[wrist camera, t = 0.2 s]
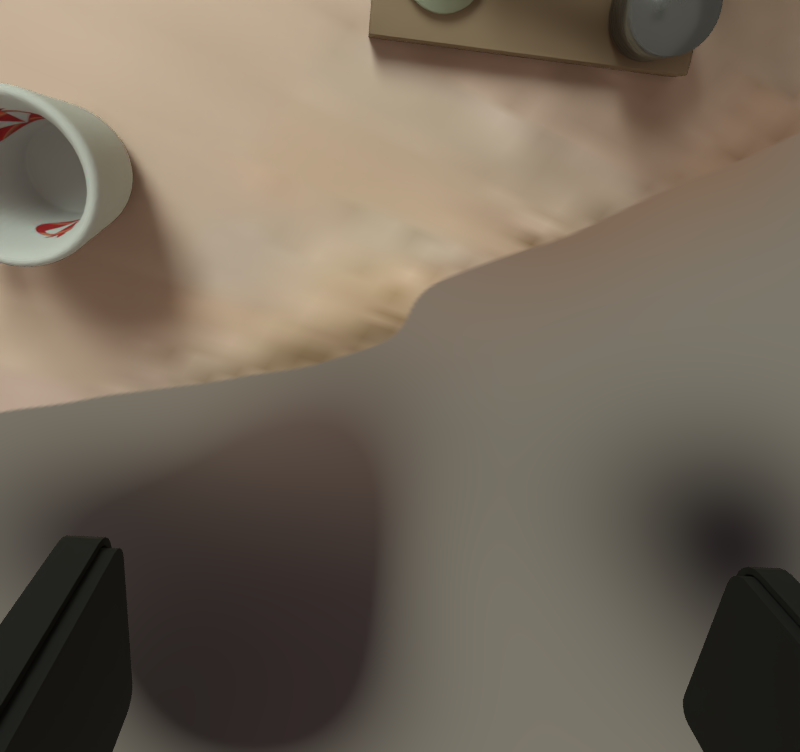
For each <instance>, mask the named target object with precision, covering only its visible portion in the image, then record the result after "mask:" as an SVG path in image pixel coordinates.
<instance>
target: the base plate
mask: <svg viewBox="0 0 800 752" xmlns="http://www.w3.org/2000/svg"><path fill="white" fill-rule="evenodd" d="M611 2H612V0H371V12H370V25H369V37H372V38H380V39H388V40H395V41H403V42H411V43H418V44H426V45H434V46H441V47H449V48H457V49H464V50H472V51H480V52H487V53H495V54H503V55H510V56H518V57H526V58H533V59H541V60H549V61H556V62H564V63H572V64H579V65H587V66H595V67H602V68H610V69H618V70H625V71H633V72H641V73H648V74H656V75H664V76H671V77H676V76H683V75H687V72H688V68H689V64H690V61H691V57H692V53H693V50H691V51H689V52H687V53H685V54H682V55H678V56H673V57H668V58H663V59H658V60H653V61H646V62H641V61H635V60H632V59H630V58H628V57H626V56H625V55H623V54H622V53H621V52H620V51H619V50H618V49H617V47H616V46H615V44H614V42H613V40H612V37H611V34H610V30H609V11H610V6H611Z"/></svg>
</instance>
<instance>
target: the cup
mask: <svg viewBox="0 0 800 752" xmlns="http://www.w3.org/2000/svg"><path fill="white" fill-rule="evenodd" d="M132 182H133V173H132V166H131V162H130V158H129V156H128V153H127V151H126V149H125V146H124V145H123V143H122V141H121V140H120V138H119V137H118V135H117V134H116V133H115V132H114V131H113V129H112V128H111V127H110V126H109V125H108V124H106V123H105V122H104V121H103V120H102V119H100V118H99V117H98V116H96V115H95V114H93V113H91V112H89V111H88V110H86V109H84V108H81V107H79V106H76V105H74V104H71V103H68V102H65V101H62V100H58V99H55V98H52V97H49V96H46V95H43V94H39V93H36V92H33V91H30V90H27V89H24V88H21V87H17V86H14V85H10V84H4V83H0V263H3V264H7V265H13V266H22V267H32V266H41V265H46V264H51V263H54V262H57V261H59V260H62V259H64V258H66V257H68V256H69V255H71V254H73V253H74V252H75V251H77V250H78V249H79V248H81V247H82V246H83V245H84V244H86V243H87V242H88V241H89V240H90V239H92V238H93V237H94V236H95V235H97V234H98V233H99V232H100V231H102V230H103V229H104V228H105V227H107V226H108V225H109V224H110V223H112V222H113V221H114V220H115V219H116V218H117V217H118V216H119V215H120V213H121V212H122V211H123V209H124V208H125V206H126V204H127V202H128V200H129V197H130V194H131V190H132Z"/></svg>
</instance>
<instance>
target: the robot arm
mask: <svg viewBox="0 0 800 752" xmlns="http://www.w3.org/2000/svg"><path fill="white" fill-rule="evenodd" d="M131 695H132V673H131V660H130V643H129V630H128V614H127V600H126V585H125V571H124V557H123V552H122V550H121V549H120V548H111V543H110V541H109V539H108V538H106V537H88V536H87V537H85V536H65V537H63V538H61V540H60V541H59V542H58V543H57V545H56V546H55V547H54V549H53V550H52V552H51V553H50V554H49V556H48V557H47V559H46V560H45V562H44V563H43V565H42V566H41V567H40V569H39V570H38V572H37V573H36V575H35V576H34V577H33V579H32V580H31V582H30V583H29V584H28V586H27V587H26V589H25V590H24V591H23V593H22V594H21V596H20V597H19V599H18V600H17V601H16V603H15V604H14V606H13V607H12V609H11V610H10V611H9V613H8V614H7V616H6V617H5V618H4V620H3V621H2V623H1V624H0V752H112V751H113V749H114V746H115V744H116V741H117V738H118V736H119V733H120V731H121V728H122V725H123V723H124V720H125V718H126V715H127V712H128V709H129V705H130V701H131ZM683 708H684V714H685V718H686V720H687V722H688V725H689V726H690V728H691V730H692V732H693V733H694V735H695V737H696V739H697V740H698V743H699V744H700V746H701V748H702V750H703V752H800V583H799V582H798V581H797V580H796V579H795V578H794V577H793V576H792V575H791V574H789V573H788V572H787V571H786V570H783V569H780V568H758V567H746V568H743V569H741V570H740V571H739V572H738V574H737V575H736V576H733V577H732V578H731V579H730V580H729V582H728V583H727V586H726V589H725V591H724V594H723V596H722V599H721V602H720V604H719V607H718V609H717V612H716V615H715V617H714V620H713V622H712V625H711V628H710V630H709V633H708V635H707V638H706V641H705V643H704V646H703V649H702V651H701V654H700V656H699V659H698V662H697V664H696V667H695V669H694V672H693V674H692V677H691V680H690V682H689V685H688V687H687V690H686V692H685V695H684V699H683Z"/></svg>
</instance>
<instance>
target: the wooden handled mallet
mask: <svg viewBox="0 0 800 752" xmlns="http://www.w3.org/2000/svg"><path fill="white" fill-rule="evenodd" d="M722 2H723V0H612V2H611V6H610V11H609V30H610V34H611V37H612V40H613V42H614V44H615V46H616V47H617V49H618V50H619V51H620V52H621V53H622V54H623V55H625V56H626V57H628V58H630V59H632V60H635V61H641V62H646V61H653V60H658V59H663V58H668V57H673V56H678V55H682V54H685V53H687V52H689V51H691V50H693V49H695V48H696V47H697V46H699V45H700V44H701V43H702V42H703V41H704V40H705V39H706V38H707V37H708V36H709V34H710V33H711V31H712V30H713V28H714V26H715V25H716V23H717V20H718V18H719V15H720V12H721V8H722Z"/></svg>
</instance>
